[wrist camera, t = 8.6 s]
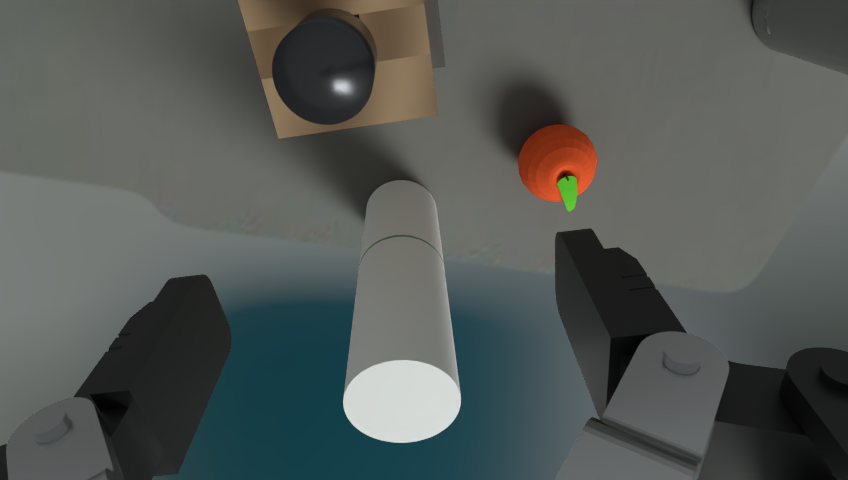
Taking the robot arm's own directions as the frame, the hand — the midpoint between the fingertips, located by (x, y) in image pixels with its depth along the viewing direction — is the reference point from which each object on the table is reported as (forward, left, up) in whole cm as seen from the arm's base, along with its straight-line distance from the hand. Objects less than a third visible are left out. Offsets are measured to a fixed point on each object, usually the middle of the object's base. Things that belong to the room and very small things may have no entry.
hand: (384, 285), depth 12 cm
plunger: (+2, -2, -35) cm, 36 cm away
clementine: (-13, +14, -38) cm, 42 cm away
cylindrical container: (+2, +18, -38) cm, 42 cm away
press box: (+2, -2, -38) cm, 38 cm away
